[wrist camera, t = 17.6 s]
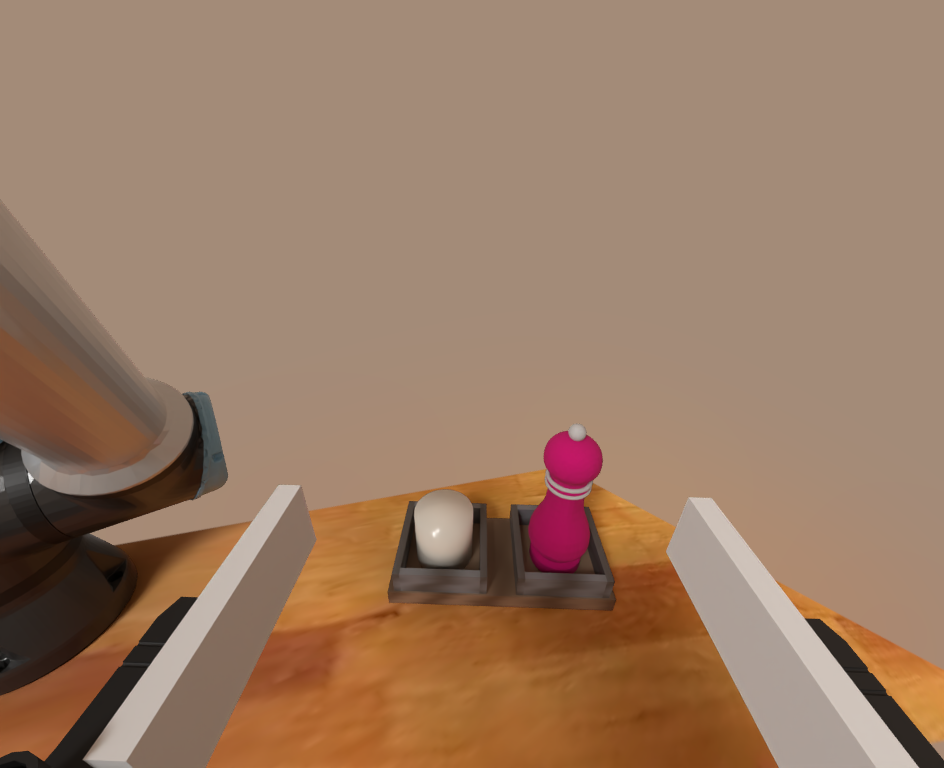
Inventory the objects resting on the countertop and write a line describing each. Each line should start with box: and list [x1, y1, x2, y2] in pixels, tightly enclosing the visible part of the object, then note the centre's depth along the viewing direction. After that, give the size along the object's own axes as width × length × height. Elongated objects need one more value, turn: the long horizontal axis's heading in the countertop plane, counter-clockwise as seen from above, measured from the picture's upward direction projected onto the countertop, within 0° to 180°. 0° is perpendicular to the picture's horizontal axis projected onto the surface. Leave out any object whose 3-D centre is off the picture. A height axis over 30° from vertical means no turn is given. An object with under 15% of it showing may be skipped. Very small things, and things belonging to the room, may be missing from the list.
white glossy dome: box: [414, 490, 473, 570], centre depth 43 cm, size 7×7×7 cm
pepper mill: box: [528, 424, 603, 574], centre depth 40 cm, size 7×7×20 cm
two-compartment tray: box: [388, 501, 616, 610], centre depth 44 cm, size 26×11×5 cm, turn 88°
